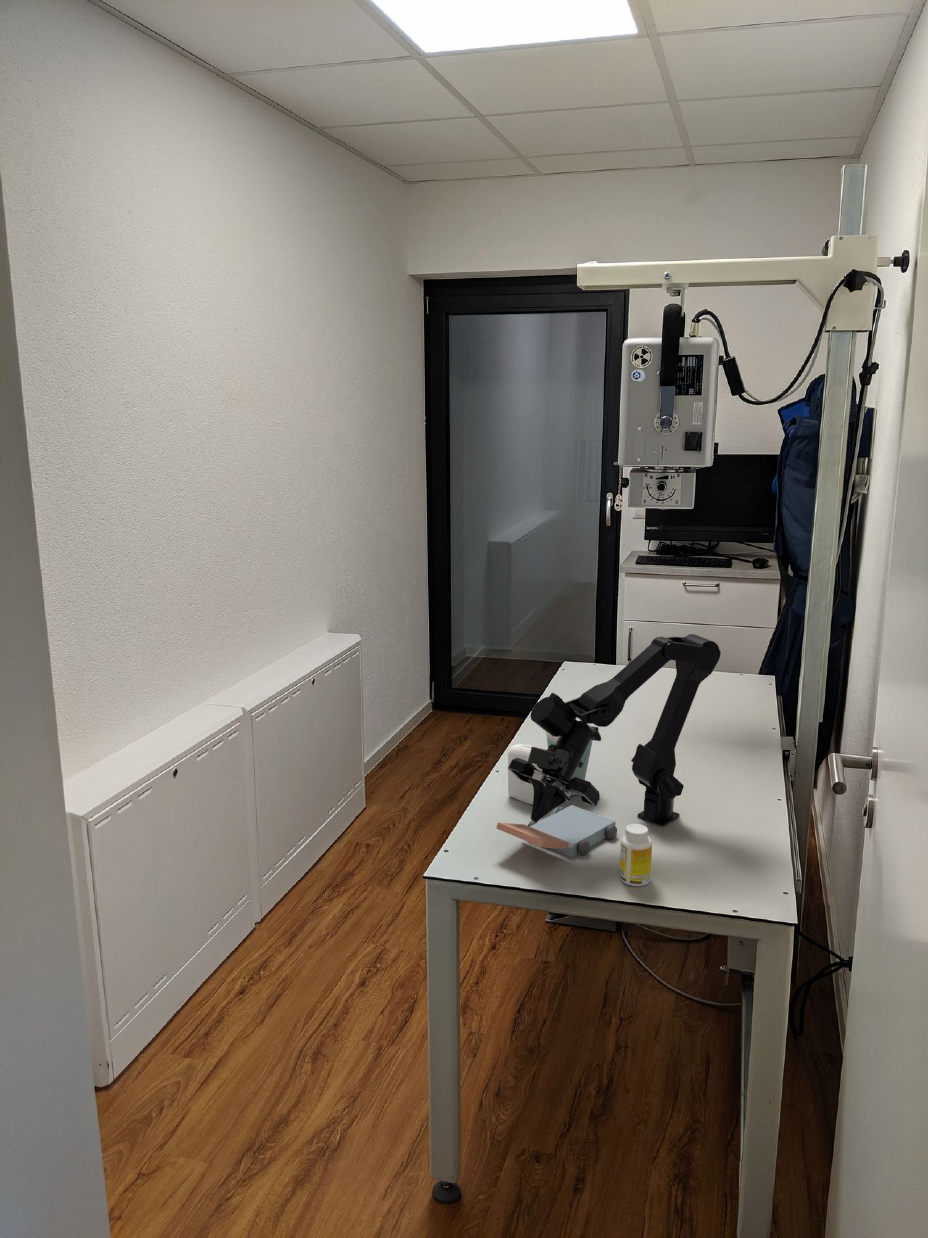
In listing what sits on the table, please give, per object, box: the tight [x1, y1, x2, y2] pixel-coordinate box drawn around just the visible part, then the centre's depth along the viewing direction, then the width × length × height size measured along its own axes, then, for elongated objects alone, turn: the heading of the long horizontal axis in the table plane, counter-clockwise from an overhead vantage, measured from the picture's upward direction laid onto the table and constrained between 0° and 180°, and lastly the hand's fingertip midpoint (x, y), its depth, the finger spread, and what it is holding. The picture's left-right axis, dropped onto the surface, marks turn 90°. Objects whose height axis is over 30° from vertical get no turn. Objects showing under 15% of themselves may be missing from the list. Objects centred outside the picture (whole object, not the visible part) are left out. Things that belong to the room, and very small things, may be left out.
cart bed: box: [527, 804, 618, 858], centre depth 190 cm, size 14×14×3 cm
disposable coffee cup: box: [545, 724, 594, 797], centre depth 210 cm, size 11×11×15 cm
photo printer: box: [507, 743, 551, 806], centre depth 205 cm, size 10×4×12 cm, turn 45°
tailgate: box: [496, 821, 574, 849], centre depth 181 cm, size 1×12×10 cm
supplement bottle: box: [619, 823, 653, 887], centre depth 172 cm, size 6×6×10 cm
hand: (533, 821), depth 180 cm, fingers closed
